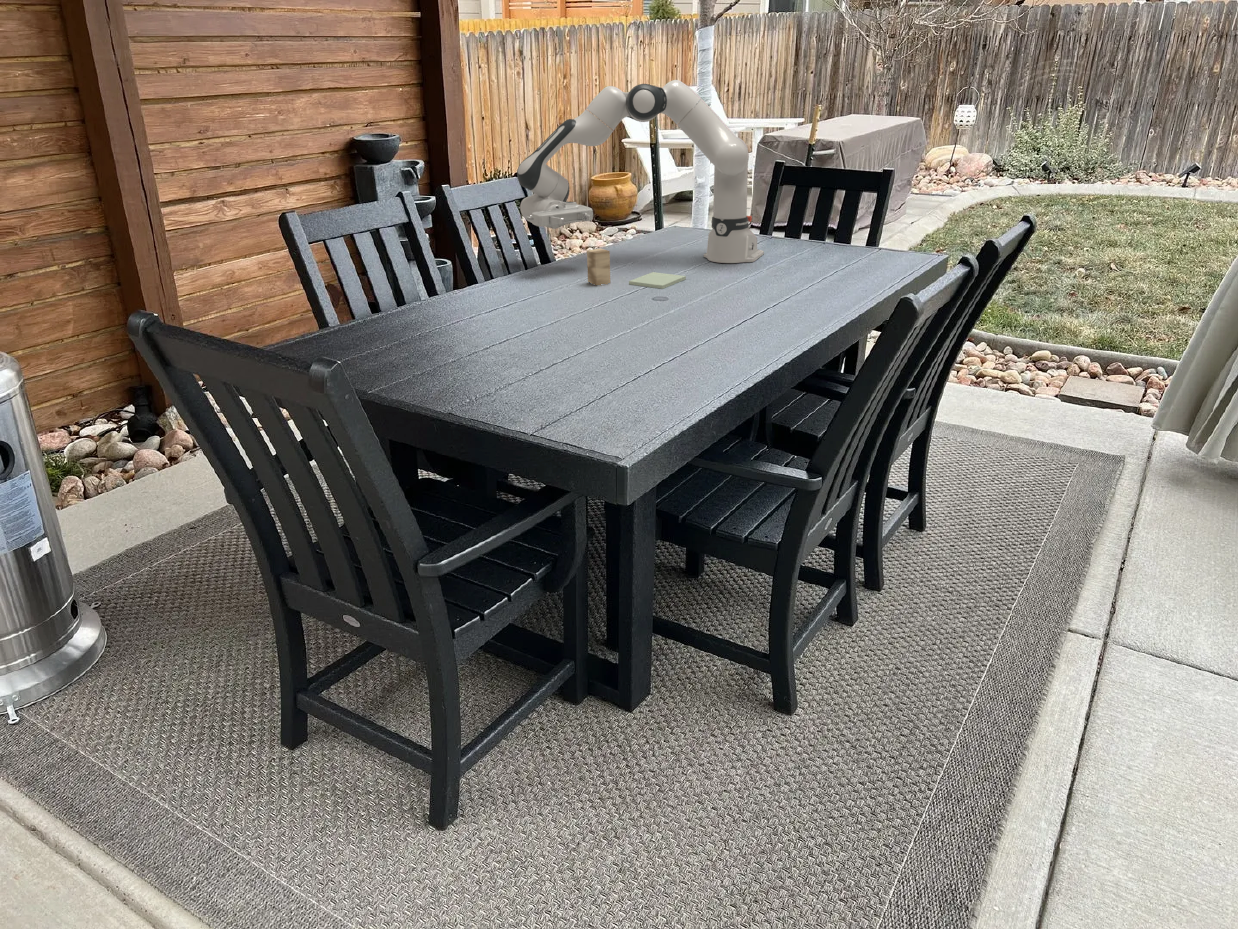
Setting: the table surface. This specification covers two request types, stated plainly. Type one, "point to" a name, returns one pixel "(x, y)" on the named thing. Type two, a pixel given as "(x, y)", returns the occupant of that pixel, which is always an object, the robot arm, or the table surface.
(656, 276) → the sage mat
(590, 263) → the oak block
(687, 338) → the table surface
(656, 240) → the table surface
